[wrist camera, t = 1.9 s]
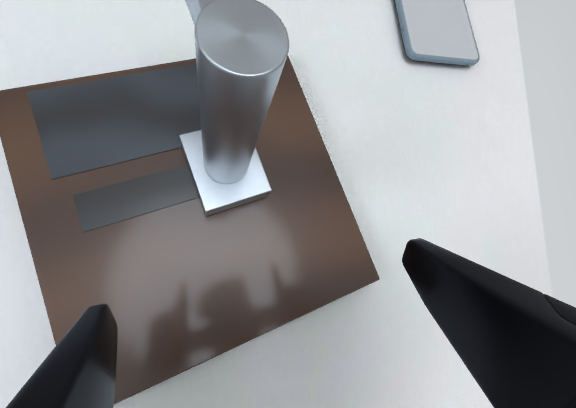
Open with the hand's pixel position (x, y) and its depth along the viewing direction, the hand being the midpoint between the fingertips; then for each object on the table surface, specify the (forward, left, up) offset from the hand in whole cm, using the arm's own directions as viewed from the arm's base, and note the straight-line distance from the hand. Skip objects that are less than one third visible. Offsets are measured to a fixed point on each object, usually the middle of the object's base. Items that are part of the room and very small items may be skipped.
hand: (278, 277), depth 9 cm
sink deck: (+6, +1, -13) cm, 14 cm away
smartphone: (+19, -27, -13) cm, 36 cm away
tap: (+10, -1, -11) cm, 15 cm away
